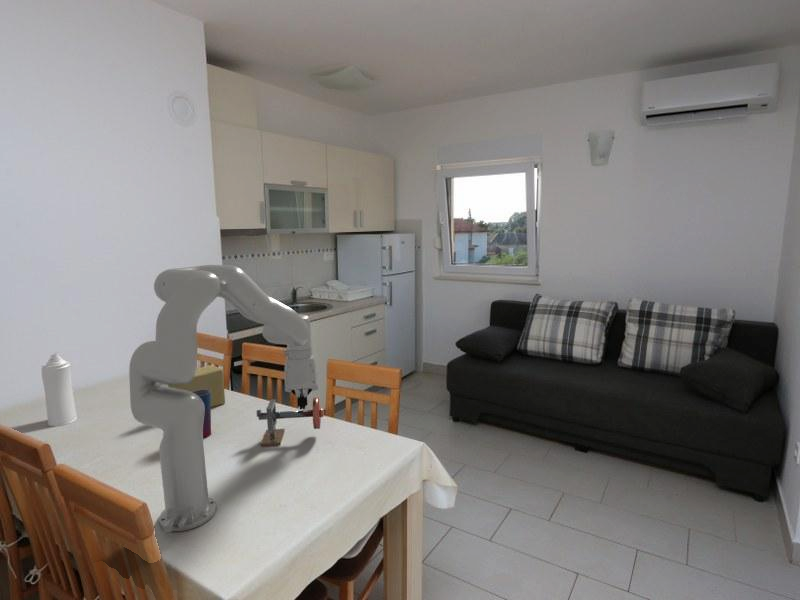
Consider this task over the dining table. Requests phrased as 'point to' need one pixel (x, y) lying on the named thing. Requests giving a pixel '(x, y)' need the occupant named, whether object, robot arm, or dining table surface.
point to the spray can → (58, 391)
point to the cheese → (207, 383)
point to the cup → (205, 397)
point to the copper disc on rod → (299, 414)
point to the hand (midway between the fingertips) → (302, 407)
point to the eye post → (272, 428)
